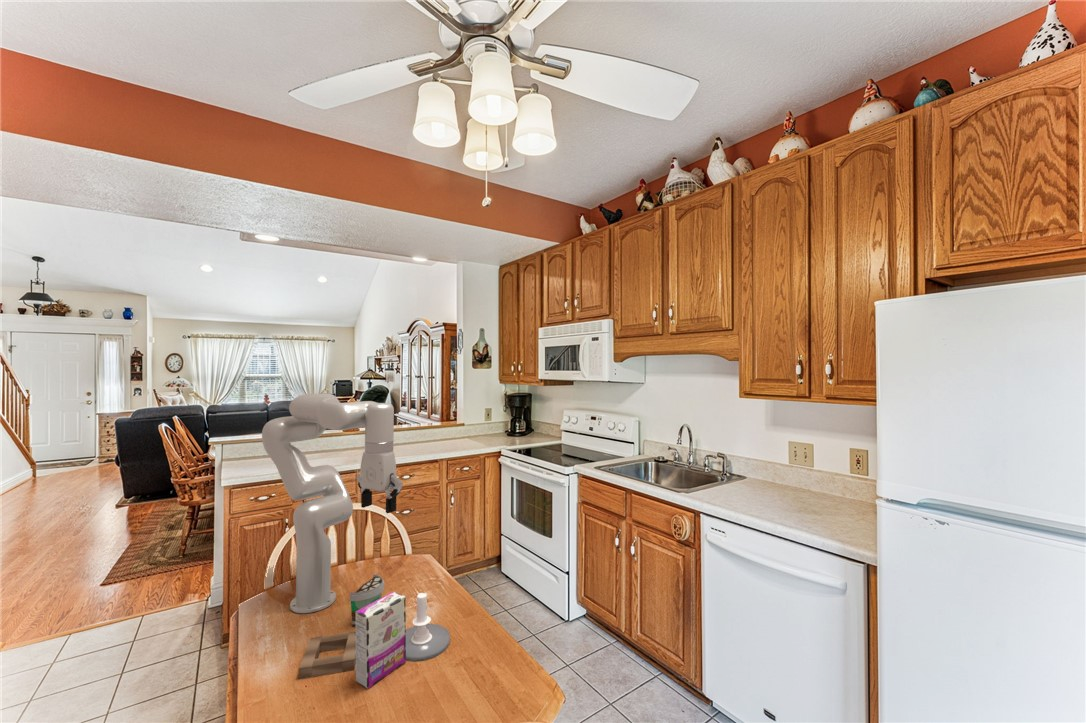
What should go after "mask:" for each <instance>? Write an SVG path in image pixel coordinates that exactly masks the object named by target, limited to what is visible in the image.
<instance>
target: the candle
mask: <svg viewBox="0 0 1086 723" xmlns="http://www.w3.org/2000/svg"><path fill="white" fill-rule="evenodd" d="M427 596H428V595H427V593H424V592H420V593H418V594H417V596H416V617H415V618H413V619H412V624H413V626H418V628H417V630H416V631H415V633H414V636H413V637H412V638H411V641H412V643H414V644H417V645H421V644H425V643H428V642H429V641H430V640H431V639H432V635H431V634H430V633H429V630H428V629H427V628H426V626H425V625H426V624H430V622H431V621H432V618H431V617H430V616H428V611H427V609H428V602H427V600H428V599H427V598H428V597H427Z"/></svg>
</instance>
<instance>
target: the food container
mask: <svg viewBox="0 0 1086 723" xmlns="http://www.w3.org/2000/svg"><path fill="white" fill-rule="evenodd" d="M372 576H373V577H372V578H371V579H370V580H368V581H367V582H365V583H363V584H362V585H361V586H360V587H359V588H358V589H357V590H356V591H355V592H350V593H349V599H348V601H350V613H351V614H350V616H351V627H354V628H355V612H356V611H358V610H360V609H362V608H363V607H365V606H367V605H369V604H371V603H373V602H375V601H377V600H378V599H380V598H382V597H383V596H382V595H383V594H382V593H383V591H384V590H385V581H384V579H383V577H382V576H381V575H378V574H375V573H374V574H373V575H372Z"/></svg>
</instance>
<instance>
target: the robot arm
mask: <svg viewBox="0 0 1086 723" xmlns="http://www.w3.org/2000/svg"><path fill="white" fill-rule="evenodd" d="M288 408H289V409H288V410H289V413H290V415H291V416H282V417H281V416H280V417H277V418H273V419H271V420H269V421H267V422H266V423H265V424H264V426H263V428H262V432H261V440H262V445H263V448H264V450H265V452H266V454H267V455H268V456H269V457H268V458H270V459H271V461H272V462H273V464H274V466H275V467H276V469H277V471H278V475H279V476H280V479H281V481H282V484H283V485H284V488H285V490H286V492H287V495H288V496H289V498H290V499H292V500H293V501H294V502H295V501H297V502H300V501H304V502H302V503H301V504H299V505H297V507H296V508H295V510H294V511H293V515H292V521H293V522H292V523H293V527H294V531H295V532H294V533H295V538H296V540H295V542H296V549H295V550H296V552H295V553H296V558H295V559H296V561H295V562H296V564H295V565H296V566H295V568H296V570H295V574H296V576H295V597H294V598H293V599H292V600H291V601H290V602H289V609H290V610H291V612H294V613H297V614H309V613H310V614H311V613H316V612H319V611H322V610H324V609H327V608H328V607H330V606H331V605H332V604H334V602H335V601H336V599H337V593H336V592H335V591H334V590H332V589H331V587H332V586H331V584H332V583H331V581H332V579H331V576H332V574H331V572H332V571H331V570H332V567H331V566H332V542H331V539H330V537H329V536H328V535H327V533H326V532H325V529H328V528H330V527H333V526H335V525H338V524H341V523H343V522H345V521H347V520H349V519H350V518H351V516H352V514H353V513H354V512H353V511H354V505H353V501H352V499H351V496H350V493H349V491H348V490H347V487H346V484H345V483H344V481H343V479H342V477H341V475H340V472H339V471H338V470H337V468H336V467H333V466H332V465H329V464H322V465H318V466H317V465H316V466H312V465H310V463H309V462H308V459H307V457H306V455H305V454H304V453H303V452H302V450H301V449H299V448H298V447H296V446H294V445H292V444H291V443H296V442H297V443H298V442H304V441H309V440H311V441H312V440H314V439H315V440H316V439H317V438H319V437H320V436H322V434H324V432H325V431H326V430H333V431H347V430H353V429H354V430H355V429H363V428H364V451H363V452H362V456H361V461H360V468H359V469H360V471H359V474H357V475H356V476H355V477H356V480H357V481H356V482H357V485H358V488H359V493H360V495H361V496H360V497H361V498H360V500H361V502H360V506H361V508H366V507H369V506H372V505H373V491H375V492H380V493H381V492H385V495H386V497H387V498H385V513H386V514H390V513H392V512H396V511H397V497H399V494H400V493H401V491H402V488H403V485H404V482H403V481H402V480H401V479H399V478H398V477H397V465H396V464H397V463H396V455H395V452H394V441H395V440H394V437H395V436H394V431H395V430H394V429H395V428H394V427H395V426H394V425H395V424H394V422H395V421H394V419H395V417H394V416H395V409H394V406H393V404H392V403H388V402H387V403H386V402H376V401H373V400H363V401H350V402H341V401H340V400H339V399H338V398H337V396H335V395H334V394H332V393H328V392H327V393H306V394H301V395H298V396H296V397H295V398H293V399H292V400H291V401H290V403H289V407H288ZM390 490H391V491H390ZM319 496H320V497H319ZM311 498H313V499H311ZM308 499H310V500H308ZM305 500H307V501H305Z"/></svg>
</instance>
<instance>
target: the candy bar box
mask: <svg viewBox="0 0 1086 723" xmlns="http://www.w3.org/2000/svg"><path fill="white" fill-rule="evenodd" d="M406 606H407V605H406V595H403V594H401V593H397V592H396V591H392V592H390V593H388V594H387V595H384V596H382V597H381V598H380V599H378V600H377V601H375V602H373V603H371V604H369V605H367V606H365V607H363V608H362V609H360V610H358V611H356V612H355V627H354V628H355V629H354V630H355V631H354V632H355V633H356V634H355V641H356V649H355V652H356V664H355V682H356V683H357V684H359V685H361V686H362V687H364V688H366V689H367V690H368V689H370V688H372V687H374V685H376V684H377V683H379V682H380V681H382V680H383V679H384V678H386V677H387V676H388V675H390V674H391V673H392V672H394V671H396V669H399V668H400V666H402V665H403V664H405V663H406V661H407V660H406V629H407V628H406V617H407V616H406V614H407V613H406V611H407V610H406Z"/></svg>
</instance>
